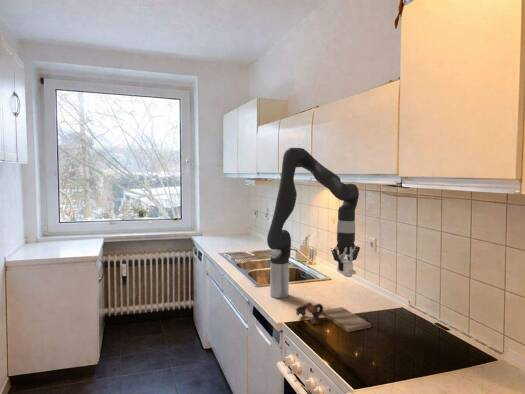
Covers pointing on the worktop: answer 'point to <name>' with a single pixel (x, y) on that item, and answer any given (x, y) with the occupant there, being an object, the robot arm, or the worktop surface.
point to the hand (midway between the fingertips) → (345, 270)
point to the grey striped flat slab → (345, 319)
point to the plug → (347, 268)
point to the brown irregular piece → (311, 309)
